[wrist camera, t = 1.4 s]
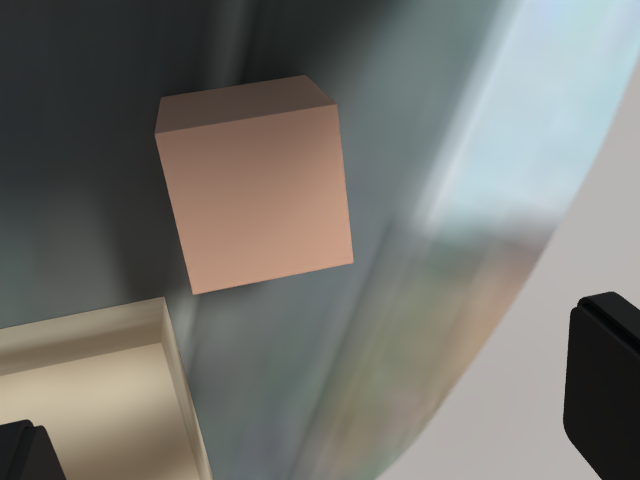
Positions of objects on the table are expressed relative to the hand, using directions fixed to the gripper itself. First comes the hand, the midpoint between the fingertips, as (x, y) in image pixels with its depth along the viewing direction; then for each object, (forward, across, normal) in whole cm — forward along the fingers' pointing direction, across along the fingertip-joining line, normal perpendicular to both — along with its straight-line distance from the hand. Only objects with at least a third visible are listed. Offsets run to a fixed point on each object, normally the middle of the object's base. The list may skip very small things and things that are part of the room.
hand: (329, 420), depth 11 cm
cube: (+15, 0, -1) cm, 15 cm away
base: (+15, +10, +10) cm, 21 cm away
